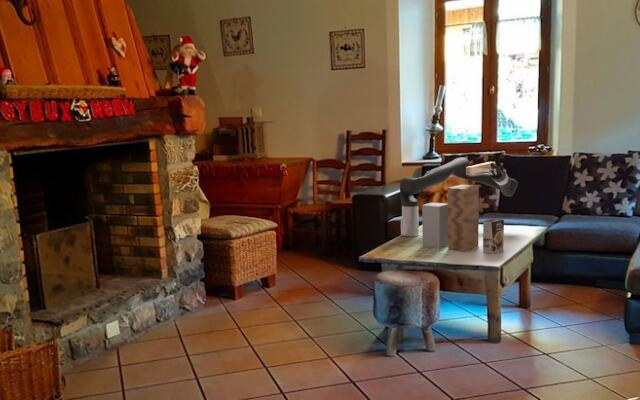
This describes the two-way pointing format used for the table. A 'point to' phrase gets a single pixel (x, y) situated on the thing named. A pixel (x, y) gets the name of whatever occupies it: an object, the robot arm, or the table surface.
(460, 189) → the tall pedestal
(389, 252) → the table surface
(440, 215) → the base pedestal
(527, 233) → the table surface
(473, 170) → the bar
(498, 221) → the coffee box
